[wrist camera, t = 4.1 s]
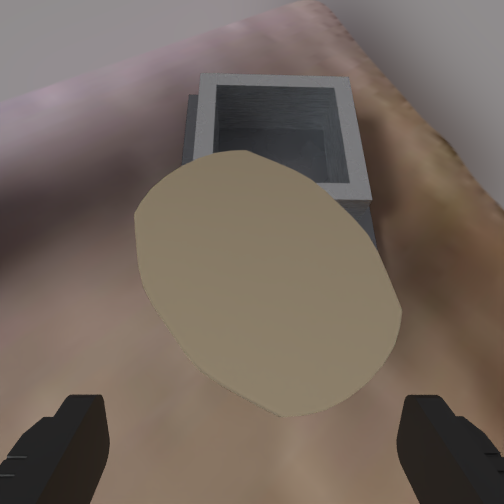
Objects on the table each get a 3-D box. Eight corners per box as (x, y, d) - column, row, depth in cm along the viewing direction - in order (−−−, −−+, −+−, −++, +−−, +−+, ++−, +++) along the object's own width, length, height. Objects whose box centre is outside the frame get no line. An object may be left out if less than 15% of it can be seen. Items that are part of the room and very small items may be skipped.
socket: (173, 269, 23) (158, 235, 19) (190, 104, 30) (182, 49, 26) (374, 271, 24) (406, 237, 19) (346, 107, 31) (364, 55, 26)
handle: (245, 298, 23) (256, 124, 9) (310, 378, 21) (446, 307, 7) (184, 342, 21) (91, 215, 8) (247, 434, 19) (268, 477, 6)
